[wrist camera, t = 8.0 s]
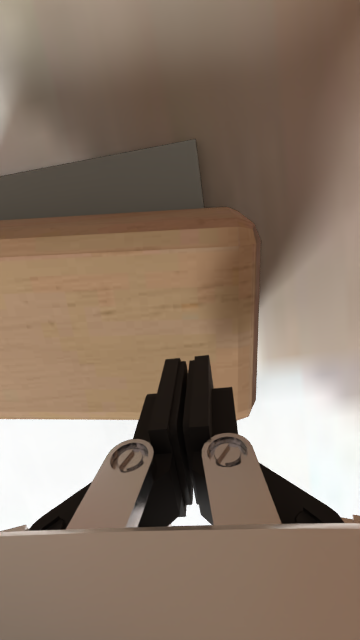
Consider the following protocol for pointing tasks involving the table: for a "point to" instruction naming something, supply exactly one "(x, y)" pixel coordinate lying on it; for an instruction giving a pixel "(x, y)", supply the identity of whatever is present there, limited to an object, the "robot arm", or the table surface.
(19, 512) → the table surface
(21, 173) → the mat
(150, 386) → the wooden block
